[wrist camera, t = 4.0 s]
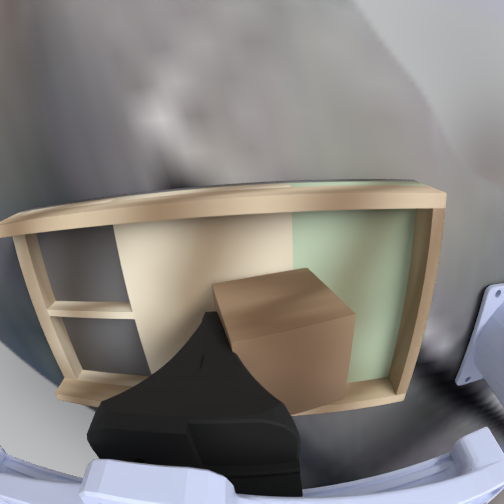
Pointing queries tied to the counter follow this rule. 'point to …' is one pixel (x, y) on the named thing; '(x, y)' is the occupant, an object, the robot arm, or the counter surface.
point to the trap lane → (228, 273)
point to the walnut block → (289, 335)
